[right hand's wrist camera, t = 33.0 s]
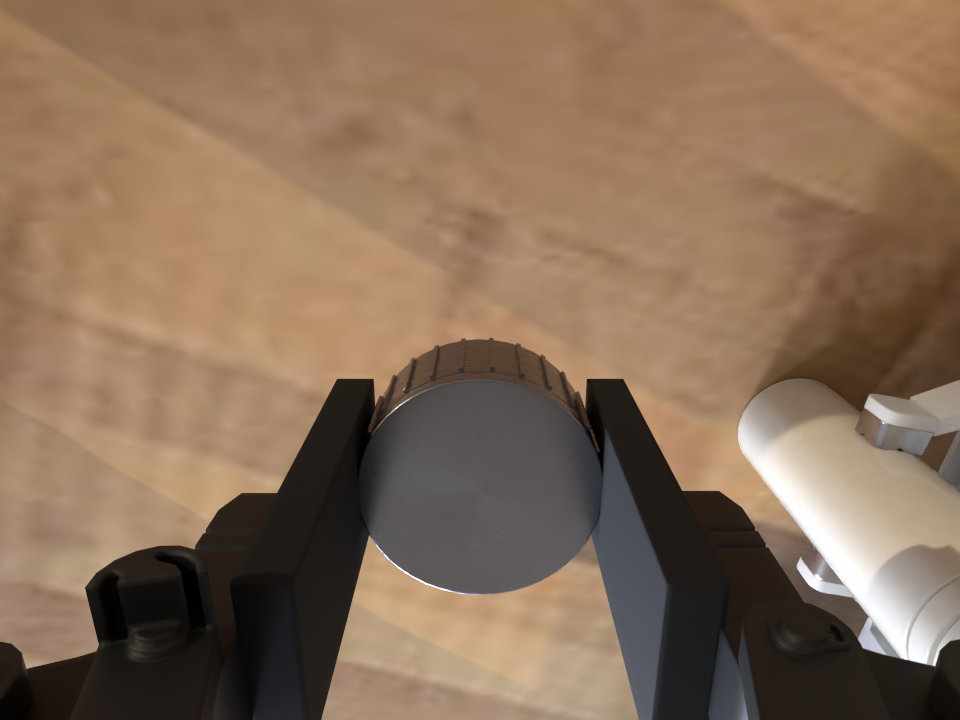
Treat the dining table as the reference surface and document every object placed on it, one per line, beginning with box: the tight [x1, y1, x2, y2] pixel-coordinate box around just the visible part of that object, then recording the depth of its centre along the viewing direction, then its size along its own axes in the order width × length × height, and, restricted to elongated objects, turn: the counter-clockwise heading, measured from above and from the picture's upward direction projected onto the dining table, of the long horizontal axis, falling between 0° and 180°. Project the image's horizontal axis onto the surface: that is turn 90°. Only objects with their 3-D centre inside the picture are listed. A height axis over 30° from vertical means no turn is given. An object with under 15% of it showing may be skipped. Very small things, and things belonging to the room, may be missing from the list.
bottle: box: [738, 378, 960, 666], centre depth 22 cm, size 5×5×19 cm
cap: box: [358, 338, 603, 595], centre depth 13 cm, size 5×5×2 cm
